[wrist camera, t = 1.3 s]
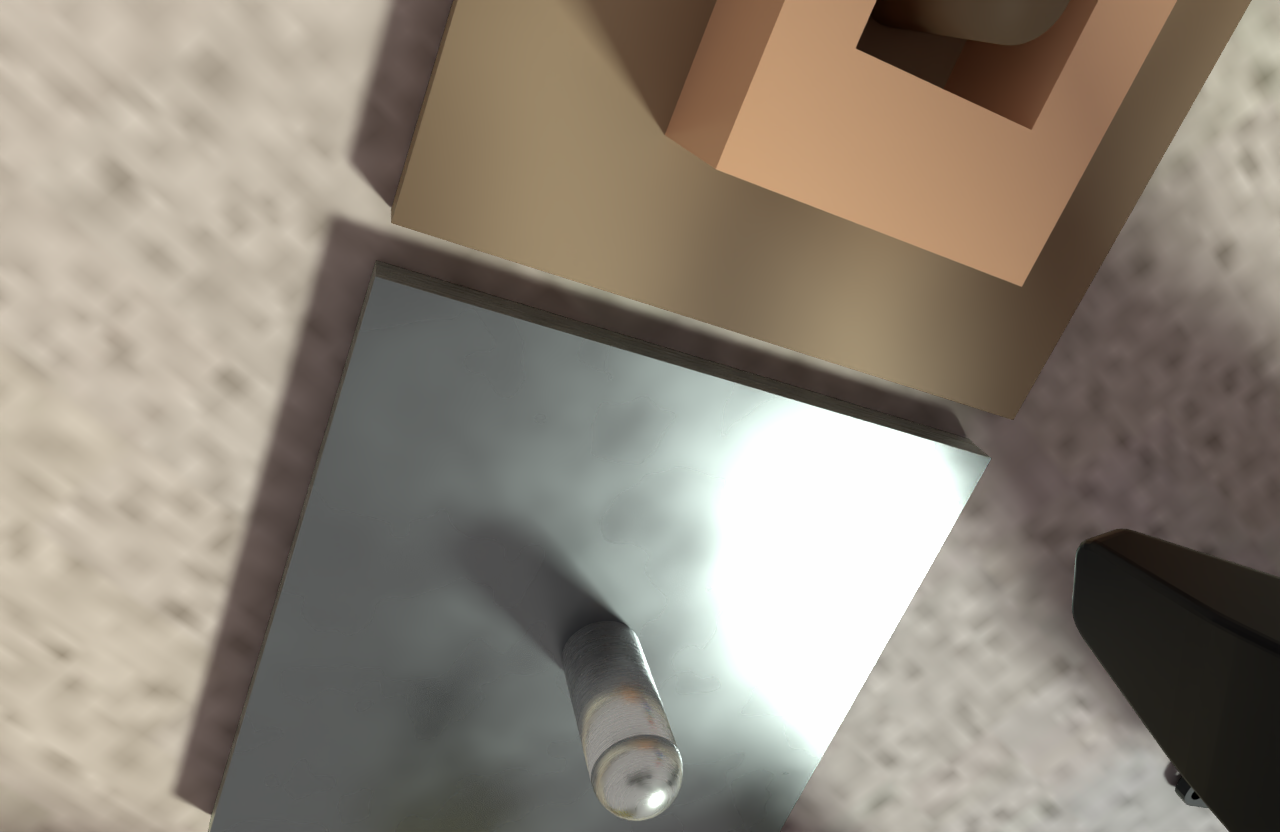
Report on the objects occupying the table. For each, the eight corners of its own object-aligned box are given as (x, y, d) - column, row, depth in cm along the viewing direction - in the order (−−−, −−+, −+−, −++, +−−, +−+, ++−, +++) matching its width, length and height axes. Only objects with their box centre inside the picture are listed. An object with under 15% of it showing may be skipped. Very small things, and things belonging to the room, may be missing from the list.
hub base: (967, 438, 23) (1121, 567, 18) (733, 863, 27) (805, 1054, 22) (376, 260, 18) (371, 373, 13) (210, 817, 22) (163, 1051, 18)
